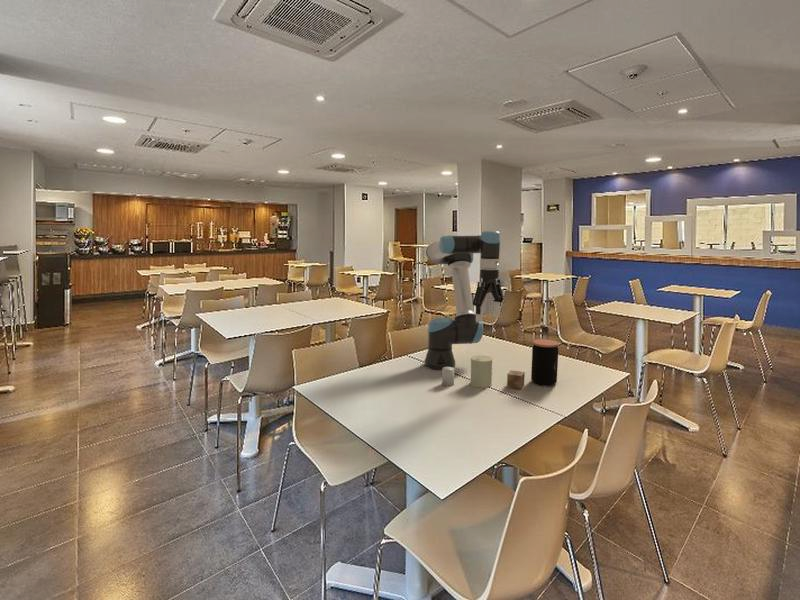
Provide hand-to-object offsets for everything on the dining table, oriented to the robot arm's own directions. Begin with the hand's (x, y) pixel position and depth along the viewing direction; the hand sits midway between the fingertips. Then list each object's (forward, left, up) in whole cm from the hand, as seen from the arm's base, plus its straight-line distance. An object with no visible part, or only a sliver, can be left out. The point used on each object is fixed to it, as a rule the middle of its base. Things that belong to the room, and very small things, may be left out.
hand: (487, 319), depth 182 cm
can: (-1, -2, -29) cm, 29 cm away
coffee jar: (+17, +19, -29) cm, 38 cm away
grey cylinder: (-11, -12, -28) cm, 33 cm away
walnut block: (+11, +6, -28) cm, 31 cm away
